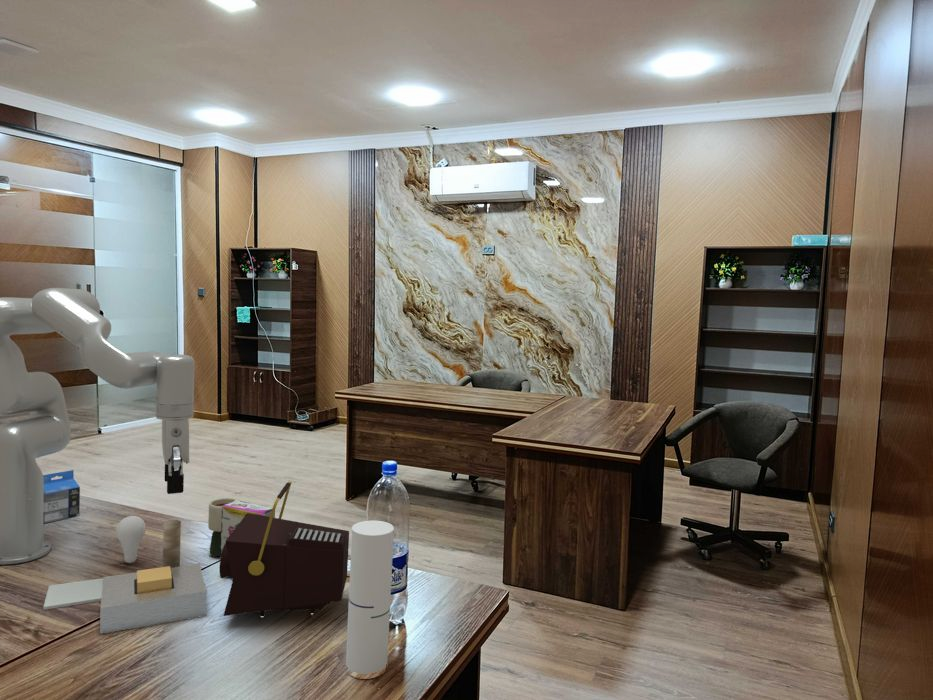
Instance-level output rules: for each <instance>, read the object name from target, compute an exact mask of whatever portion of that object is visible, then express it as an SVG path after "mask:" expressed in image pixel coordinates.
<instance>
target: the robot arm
mask: <svg viewBox="0 0 933 700" xmlns="http://www.w3.org/2000/svg"><path fill="white" fill-rule="evenodd" d="M100 306H101V305H100V302H99V301H98V298H97V297H96V296H95V295H94V294H93V293H91V292H90V291H88V290H84V289H79V288H69V287H68V288H67V287H65V288H64V287H50V288H44V289H42V290H40V291H38V292H37V293H36V294H35V295H33V297H31V298H30V297H13V296H10V297H9V296H8V297H0V416H1V417H7V416H8V417H9V416H16V415H17V416H18V415H22V414H23V415H25V414H28V413H29V416H30V418H24V419H19V420H13V421H9V422H6V423H3V424H2V425H0V565H2V566H3V565H4V566H5V565H15V564H21V563H23V564H24V563H26V562H31V561H35V560H37V559H39V558H41V557H44V556H46V555H48V554H49V552H50V551H51V550H52V544H51V543H50V541H47V540H44V523H43V500H44V479H43V475H44V474H43V472H42V470H41V468H40V466H39V465H38V463H37V462H36V461H37V460H36V459H38V458H40V457H45V456H49V455H52V454H55V453H57V452H61V451H62V450H64V449H65V448H67V447H68V445H69V443H70V441H71V438H72V437H71V436H72V428H71V423H70V417H69V414H68V409H67V408H68V407H67V404H66V399H65V395H64V391H63V388H62V385H61V384H60V382H59V381H58V379H57V378H56V377H54V376H53V375H52V374H50V373H48V372H45V371H32V372H31V371H30V372H28V370H27V369H28V368H26V367H27V366H26V363H25V356H24V354H23V353H22V350H21V349H20V347H19V346H18V345H17V343H15V342H14V340H13V339H11V337H10V336H13V335H33V334H35V335H36V334H37V335H38V334H49V333H54V332H56V333H57V334H59V335H60V336H61V337H63V338H64V339H66V340H67V341H69V342H70V343H71V344H73V345H75V346H76V347H77V348H78V350H79V354H80V357H81V360H82V361H83V364H84V365H85V366H86V367H87V369H89V371H91V372H92V373H93V374H94V375H96V376H97V377H98V378H100V379H102V380H103V381H105V382H106V383H107V384H108V385H109V384H110V385H111V386H113V387H116V388H118V389H126V390H127V389H134V388H139V387H146V386H153V385H156V393H155V394H156V399H155V400H156V402H155V403H156V404H155V405H156V406H155V409H156V410H155V418H156V419H158V420H160V421H161V444H162V445H161V447H162V455H163V460H164V481H165V482H166V494H168V495H173V494H182V493H184V487H185V486H184V483H185V482H184V479H185V475H184V474H185V473H184V471H183V470H184V468H183V467H184V466H183V463H185V464H189V463H190V421H189V420H190V419H192V418H194V414H195V413H194V412H195V411H194V409H195V406H194V404H195V402H194V401H195V359H194V357H192V356H191V355H188V354H177V353H175V354H168V353H165V352H160V351H153V350H152V351H151V350H150V351H137V352H128V353H125V352H123V351H122V350H121V349H119V348H117V347H116V346H114V344H112V343H110V342H109V341H108V338H109V337H110V335H111V332H112V323H111V321H110V320H109V319H108V318H107V317H105V316H104V315H102V314H100V312H101V307H100Z"/></svg>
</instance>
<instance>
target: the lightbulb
mask: <svg viewBox="0 0 933 700" xmlns="http://www.w3.org/2000/svg"><path fill="white" fill-rule="evenodd" d="M145 523H146V522H145V521H144V519H142V517H139V516H136V515H130V516H126V517H124V518H122V519H121V520H120V521H119V522H118V524H117V526H116V529H115V535H116V537H117V540H119V542H120V543H121V546H122V553H123V559H124V562H125V563H128V564H133V563H134V562H135V561H137V559H138V557H137V556H138V552H139V546H140V543H141V541H142V539H143V537H144V535H145V533H146V530H147V525H146V524H145Z"/></svg>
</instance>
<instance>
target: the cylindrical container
mask: <svg viewBox="0 0 933 700" xmlns="http://www.w3.org/2000/svg"><path fill="white" fill-rule="evenodd" d="M394 527H395V526H394V525H393V524H391V523H390V522H386V521H382V520H363V521H359V522H356V523H355V524H353V525H352V526H351V543H350V563H349V564H350V565H349V566H350V567H349V585H348V587H349V588H348V609H347V613H348V615H347V629H346V630H347V631H346V633H347V634H346V655H345V657H346V658H345V667H346V666H347V667H348V669H349V670H351V671H353V672H356V673H359V674H370V673H375V672H378V671H380V670H382V669H383V668H384V667H385V666H386V664H387V665H388V657H389V655H388V654H389V637H390V636H389V634H390V633H389V632H390V617H391V616H390V614H391V613H390V612H391V596H392V594H391V593H392V574H393V555H394V554H393V553H394V535H395V533H394V532H395V528H394Z"/></svg>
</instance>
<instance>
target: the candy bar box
mask: <svg viewBox="0 0 933 700" xmlns="http://www.w3.org/2000/svg"><path fill="white" fill-rule="evenodd" d="M238 500H239V499H238ZM238 500H235V501H232V502H230V503H228V504H225V505H223V506H222V524H221V553H222V550H223V547H224V545H225V543H226V540H227V538H228V537H229V536H230V534H231V533H232V532H233V531H234V529H235V528H236V527H237V526H238V524H239V523H240V522H241V520H242V519H243V518H244V517H245V515H246V514H247V513H250V514H256V515H261V516H267V517H270V515H271V511H272V508H273V506H272V507H271V506H267V505H262V504H258V503H257V504H255V503H250V502H247V501H241V500H239V501H238ZM273 518H276V511H275V512H274V515H273ZM229 578H231V579H232V576H230V577H229Z"/></svg>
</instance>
